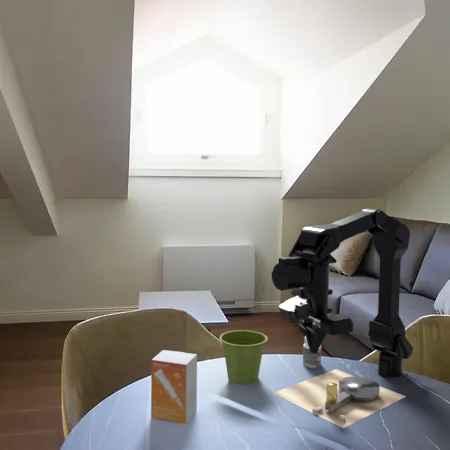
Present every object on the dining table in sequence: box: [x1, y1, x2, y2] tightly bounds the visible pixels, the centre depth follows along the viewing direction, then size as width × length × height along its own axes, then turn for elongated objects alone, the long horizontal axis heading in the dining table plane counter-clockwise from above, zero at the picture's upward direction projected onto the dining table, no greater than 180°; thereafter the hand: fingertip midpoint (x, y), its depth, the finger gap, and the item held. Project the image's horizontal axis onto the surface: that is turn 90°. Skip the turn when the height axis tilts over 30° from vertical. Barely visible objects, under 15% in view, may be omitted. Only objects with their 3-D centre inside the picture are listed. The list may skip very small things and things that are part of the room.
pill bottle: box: [302, 336, 322, 369], centre depth 133 cm, size 5×5×8 cm
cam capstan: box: [325, 376, 380, 412], centre depth 112 cm, size 17×9×6 cm, turn 135°
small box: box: [150, 349, 198, 425], centre depth 106 cm, size 8×6×13 cm
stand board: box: [272, 368, 407, 429], centre depth 115 cm, size 23×20×2 cm
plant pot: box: [219, 329, 268, 385], centre depth 124 cm, size 12×12×11 cm
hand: (313, 352), depth 112 cm, fingers closed
